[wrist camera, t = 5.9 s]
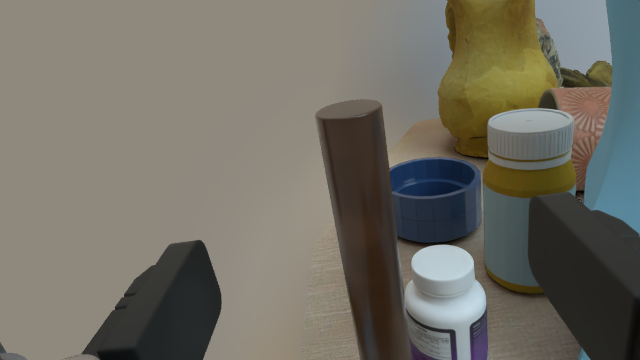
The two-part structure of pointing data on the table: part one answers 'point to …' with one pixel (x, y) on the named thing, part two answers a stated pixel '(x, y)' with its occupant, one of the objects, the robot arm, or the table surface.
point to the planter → (581, 121)
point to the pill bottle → (446, 306)
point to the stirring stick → (366, 225)
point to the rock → (549, 49)
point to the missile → (588, 76)
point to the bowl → (436, 199)
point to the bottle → (522, 186)
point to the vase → (619, 126)
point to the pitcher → (490, 68)
